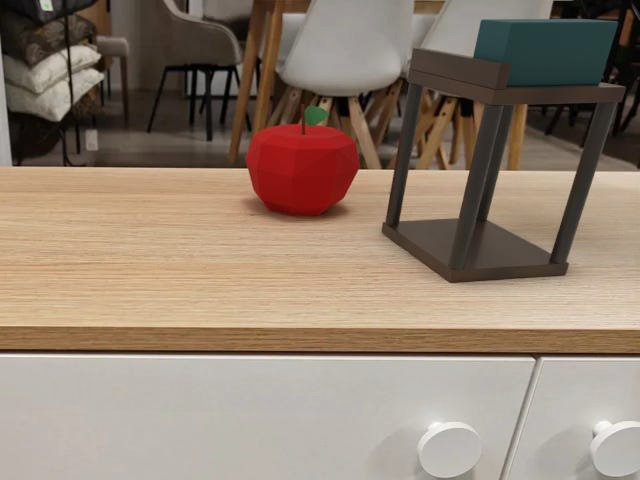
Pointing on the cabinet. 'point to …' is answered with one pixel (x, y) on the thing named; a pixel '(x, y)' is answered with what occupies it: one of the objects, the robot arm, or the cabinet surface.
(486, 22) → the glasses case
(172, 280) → the cabinet surface
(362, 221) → the cabinet surface
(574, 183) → the rack
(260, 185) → the apple
